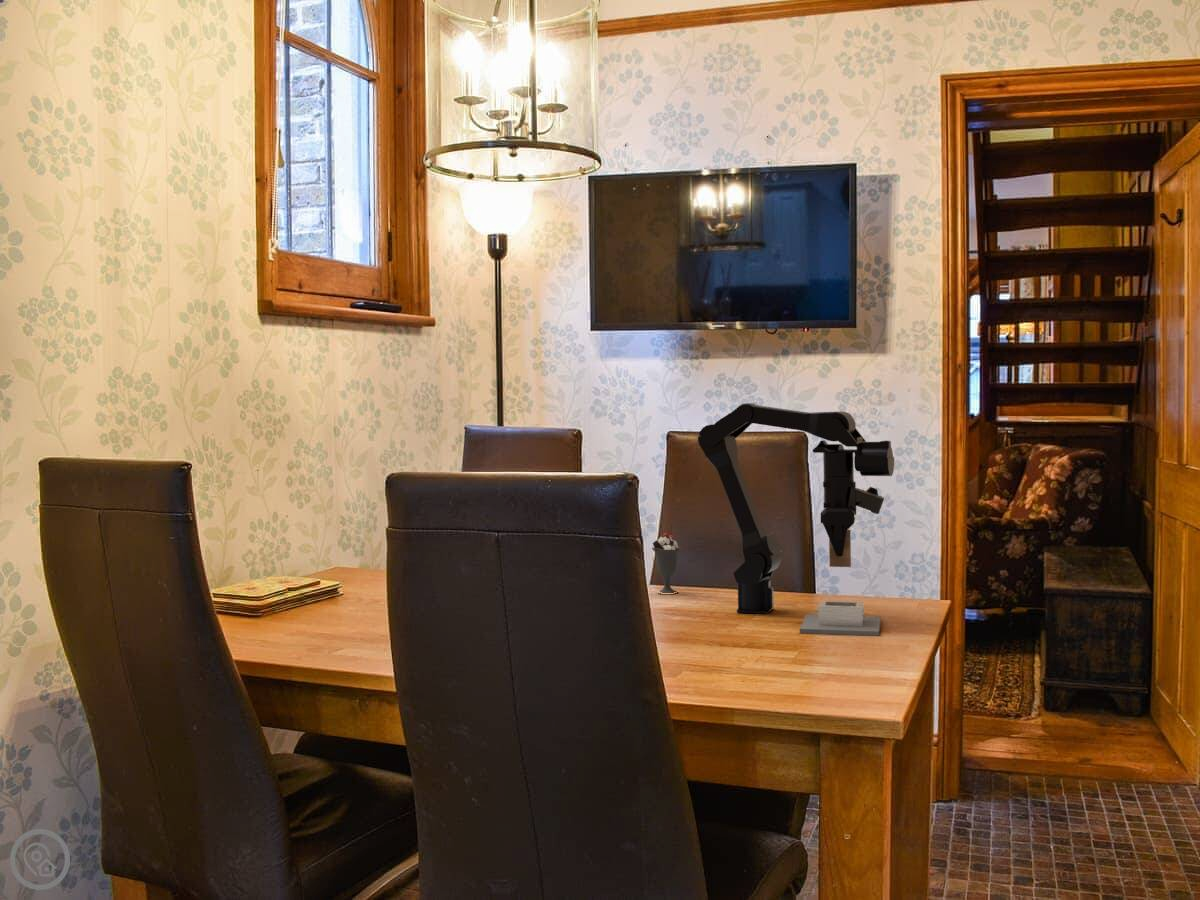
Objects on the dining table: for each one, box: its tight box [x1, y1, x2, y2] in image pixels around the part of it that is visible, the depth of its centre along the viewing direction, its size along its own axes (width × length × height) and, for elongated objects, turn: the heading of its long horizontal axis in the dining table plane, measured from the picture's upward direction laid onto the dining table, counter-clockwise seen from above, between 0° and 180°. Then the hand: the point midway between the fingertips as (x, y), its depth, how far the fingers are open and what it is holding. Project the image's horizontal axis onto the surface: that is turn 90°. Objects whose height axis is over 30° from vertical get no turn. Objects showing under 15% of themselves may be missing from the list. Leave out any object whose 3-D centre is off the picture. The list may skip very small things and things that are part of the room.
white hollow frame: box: [817, 600, 865, 626], centre depth 206 cm, size 8×6×4 cm
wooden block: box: [828, 529, 852, 568], centre depth 215 cm, size 4×2×7 cm, turn 76°
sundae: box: [651, 525, 682, 593], centre depth 246 cm, size 7×7×15 cm
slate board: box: [799, 613, 882, 637], centre depth 206 cm, size 14×14×1 cm
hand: (839, 555), depth 215 cm, fingers closed on wooden block, 2 cm apart
